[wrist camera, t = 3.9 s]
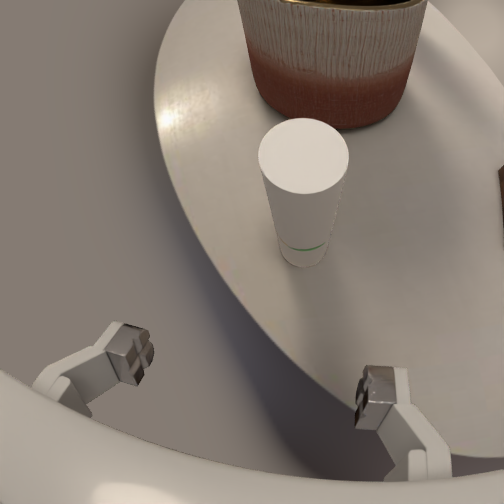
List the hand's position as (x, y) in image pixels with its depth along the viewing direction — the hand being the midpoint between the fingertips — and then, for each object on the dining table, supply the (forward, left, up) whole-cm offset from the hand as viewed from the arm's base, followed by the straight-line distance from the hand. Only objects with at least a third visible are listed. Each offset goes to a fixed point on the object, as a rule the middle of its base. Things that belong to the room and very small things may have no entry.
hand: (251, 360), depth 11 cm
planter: (+30, 0, -17) cm, 35 cm away
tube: (+9, 0, -17) cm, 19 cm away
